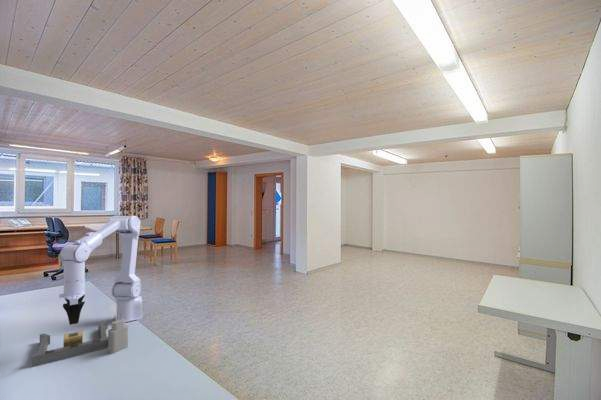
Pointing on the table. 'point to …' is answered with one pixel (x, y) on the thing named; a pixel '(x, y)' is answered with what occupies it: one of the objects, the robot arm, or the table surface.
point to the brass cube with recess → (73, 338)
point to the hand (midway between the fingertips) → (74, 319)
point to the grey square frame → (69, 348)
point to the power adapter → (117, 336)
